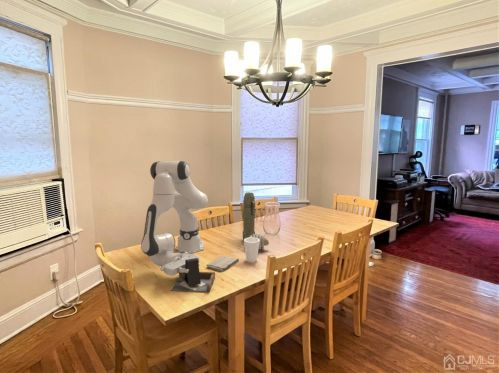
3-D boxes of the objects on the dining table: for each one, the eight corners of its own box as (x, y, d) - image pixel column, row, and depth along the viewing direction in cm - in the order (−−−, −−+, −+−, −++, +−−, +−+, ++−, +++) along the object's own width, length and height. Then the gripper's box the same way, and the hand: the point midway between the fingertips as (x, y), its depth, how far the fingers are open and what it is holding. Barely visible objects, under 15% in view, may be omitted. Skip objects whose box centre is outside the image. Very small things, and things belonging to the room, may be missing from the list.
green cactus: (250, 244, 219) (250, 195, 213) (238, 240, 228) (238, 192, 222) (259, 241, 225) (259, 193, 219) (247, 237, 234) (248, 191, 228)
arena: (179, 277, 170) (179, 271, 169) (214, 278, 168) (214, 272, 168) (171, 291, 155) (170, 284, 154) (209, 292, 154) (209, 285, 153)
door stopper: (183, 279, 163) (183, 257, 161) (195, 276, 166) (194, 255, 164) (189, 286, 155) (188, 263, 153) (200, 284, 158) (200, 261, 156)
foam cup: (248, 256, 199) (248, 236, 197) (261, 258, 195) (262, 238, 193) (241, 261, 191) (241, 241, 188) (255, 264, 187) (255, 243, 184)
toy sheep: (269, 253, 205) (270, 236, 203) (243, 253, 203) (243, 237, 201) (267, 247, 215) (267, 231, 213) (242, 247, 214) (242, 231, 212)
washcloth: (205, 269, 181) (205, 264, 181) (222, 258, 197) (222, 253, 196) (222, 273, 176) (222, 268, 175) (239, 262, 191) (239, 257, 191)
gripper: (158, 262, 157) (177, 269, 150) (187, 250, 174) (206, 256, 166) (158, 274, 158) (178, 282, 151) (187, 261, 175) (206, 267, 167)
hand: (193, 268), depth 159 cm, fingers closed on door stopper, 6 cm apart
